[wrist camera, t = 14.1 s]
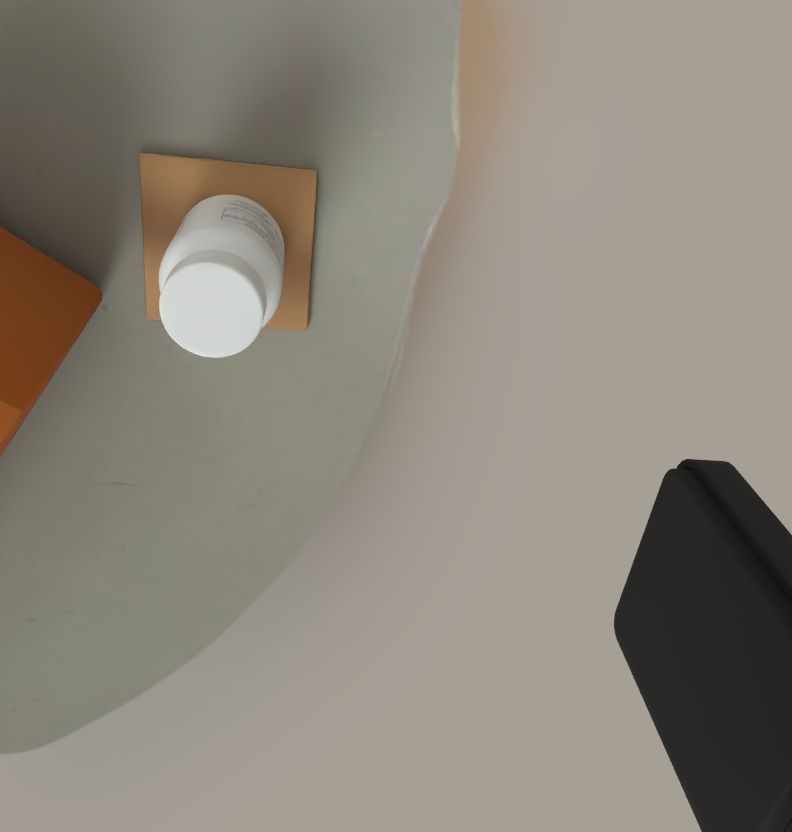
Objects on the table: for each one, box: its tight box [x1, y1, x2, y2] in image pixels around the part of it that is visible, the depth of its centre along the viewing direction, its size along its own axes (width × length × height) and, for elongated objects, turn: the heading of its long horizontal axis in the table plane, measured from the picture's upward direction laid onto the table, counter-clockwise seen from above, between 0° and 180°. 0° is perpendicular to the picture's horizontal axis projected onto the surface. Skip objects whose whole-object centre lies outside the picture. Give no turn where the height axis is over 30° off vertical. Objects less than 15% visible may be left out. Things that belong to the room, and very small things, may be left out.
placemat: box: [139, 152, 317, 330], centre depth 32 cm, size 7×7×1 cm
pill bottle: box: [159, 195, 284, 357], centre depth 28 cm, size 4×4×8 cm
